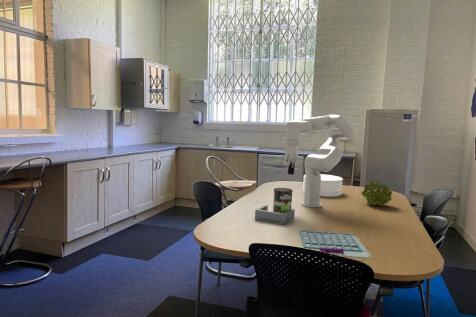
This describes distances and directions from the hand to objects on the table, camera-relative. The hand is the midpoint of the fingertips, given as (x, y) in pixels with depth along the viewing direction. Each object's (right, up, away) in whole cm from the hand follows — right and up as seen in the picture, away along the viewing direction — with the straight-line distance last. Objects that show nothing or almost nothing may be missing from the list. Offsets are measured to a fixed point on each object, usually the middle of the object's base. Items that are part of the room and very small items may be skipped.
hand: (290, 174), depth 210 cm
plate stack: (+31, -16, +58) cm, 68 cm away
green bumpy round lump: (+58, -21, +22) cm, 65 cm away
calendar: (+10, -29, -54) cm, 62 cm away
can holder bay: (-11, -23, -17) cm, 30 cm away
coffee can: (-6, -22, -8) cm, 24 cm away
